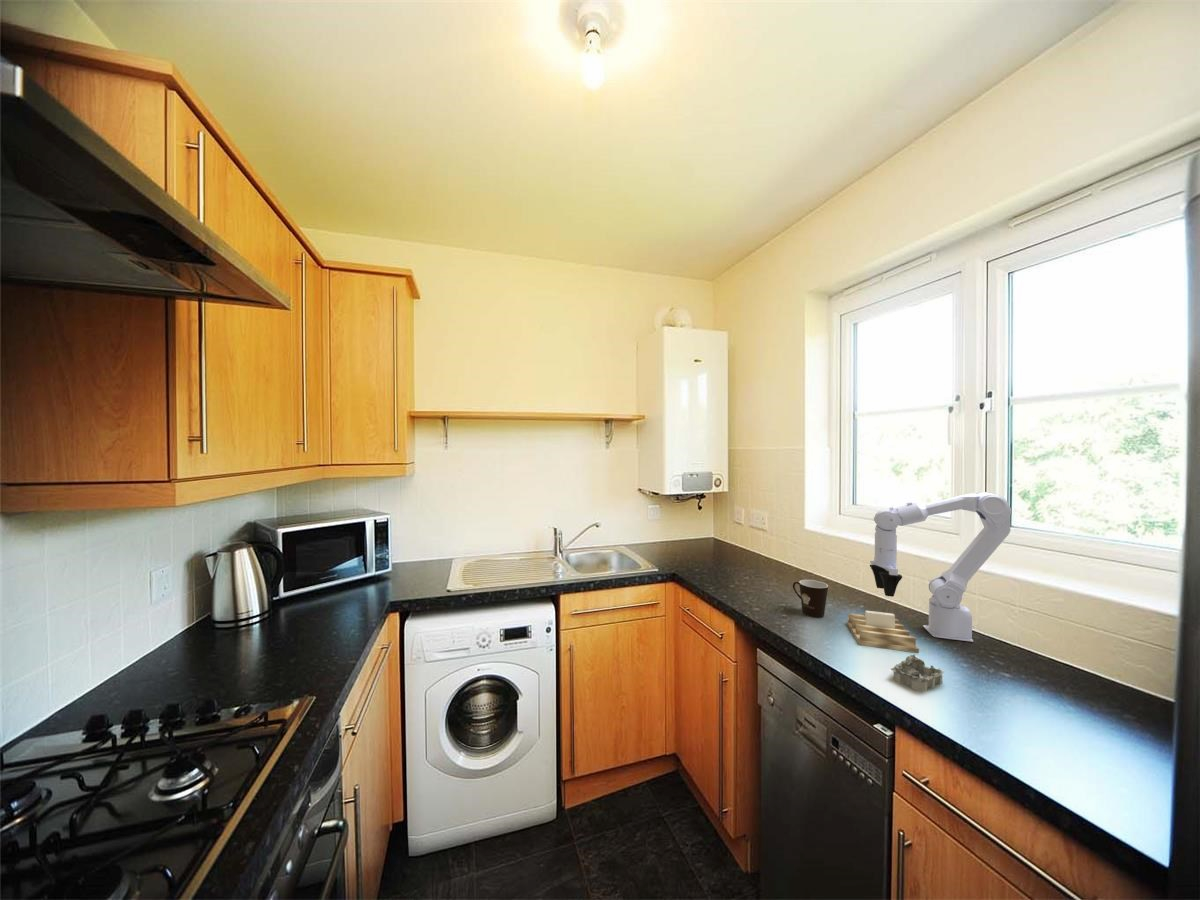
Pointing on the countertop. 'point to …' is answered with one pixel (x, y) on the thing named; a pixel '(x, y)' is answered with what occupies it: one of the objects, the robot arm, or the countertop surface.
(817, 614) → the coffee mug
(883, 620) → the white block
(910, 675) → the ruined castle model
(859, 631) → the dish rack
